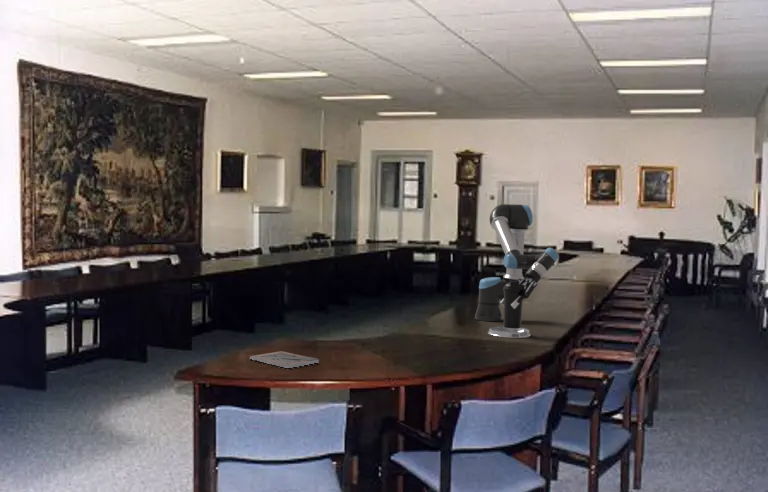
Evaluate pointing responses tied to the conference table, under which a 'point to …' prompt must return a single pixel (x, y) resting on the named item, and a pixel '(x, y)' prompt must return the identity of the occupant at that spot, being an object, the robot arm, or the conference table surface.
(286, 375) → the conference table surface
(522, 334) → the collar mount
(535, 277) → the robot arm
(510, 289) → the water bottle
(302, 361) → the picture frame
